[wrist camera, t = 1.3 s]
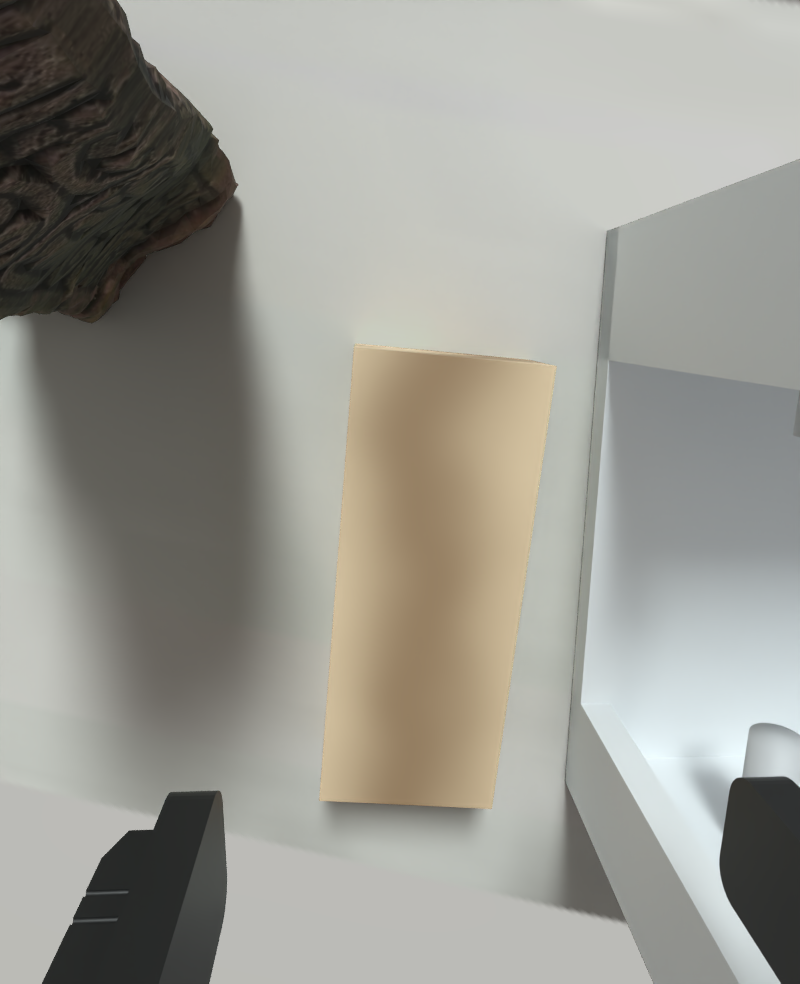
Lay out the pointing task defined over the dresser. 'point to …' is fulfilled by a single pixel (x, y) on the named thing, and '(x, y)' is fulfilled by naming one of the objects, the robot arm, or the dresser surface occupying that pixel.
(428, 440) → the shelf board
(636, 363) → the cabinet bay
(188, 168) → the statue
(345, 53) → the dresser surface
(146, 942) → the robot arm
